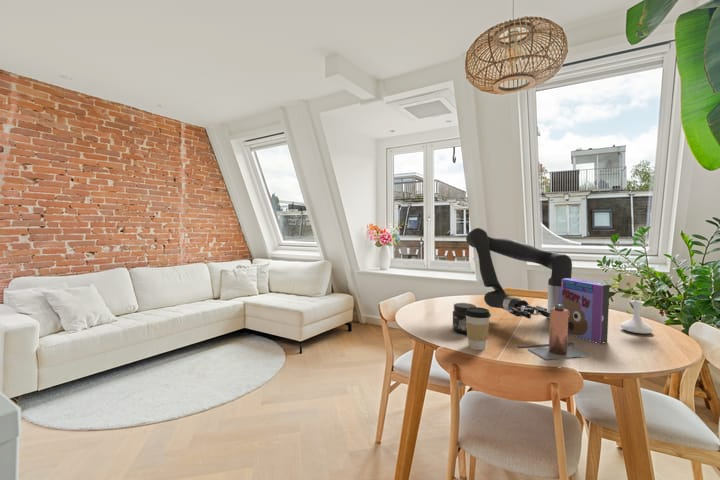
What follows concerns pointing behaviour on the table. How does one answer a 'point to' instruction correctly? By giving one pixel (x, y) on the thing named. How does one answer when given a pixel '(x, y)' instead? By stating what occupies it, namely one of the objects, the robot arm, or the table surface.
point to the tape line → (538, 345)
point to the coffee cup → (477, 327)
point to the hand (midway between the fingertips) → (539, 315)
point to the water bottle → (558, 330)
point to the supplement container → (460, 317)
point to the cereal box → (586, 308)
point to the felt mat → (548, 355)
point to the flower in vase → (635, 322)
